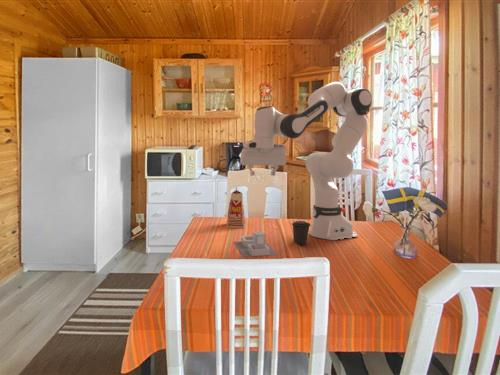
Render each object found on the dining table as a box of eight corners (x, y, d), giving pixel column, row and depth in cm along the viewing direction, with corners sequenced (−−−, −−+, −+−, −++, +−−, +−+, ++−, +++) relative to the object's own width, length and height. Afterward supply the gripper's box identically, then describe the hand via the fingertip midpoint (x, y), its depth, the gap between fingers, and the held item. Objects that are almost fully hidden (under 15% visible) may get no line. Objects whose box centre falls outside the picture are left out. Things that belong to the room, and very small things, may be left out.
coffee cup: (290, 241, 180) (291, 219, 178) (308, 241, 180) (309, 220, 178) (291, 246, 172) (292, 224, 170) (310, 247, 172) (311, 224, 170)
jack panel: (264, 242, 177) (264, 234, 176) (278, 257, 158) (278, 248, 157) (232, 244, 173) (233, 236, 173) (243, 259, 154) (243, 250, 154)
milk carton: (244, 228, 200) (245, 188, 197) (226, 227, 201) (226, 188, 197) (245, 223, 209) (246, 185, 206) (227, 223, 210) (228, 185, 206)
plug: (261, 250, 162) (262, 231, 161) (265, 254, 158) (265, 234, 156) (252, 251, 161) (252, 232, 160) (255, 255, 157) (256, 235, 155)
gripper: (284, 143, 180) (282, 174, 182) (239, 143, 175) (239, 174, 178) (288, 144, 174) (287, 176, 176) (242, 144, 169) (242, 176, 171)
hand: (262, 175), depth 177 cm, fingers open, 8 cm apart
